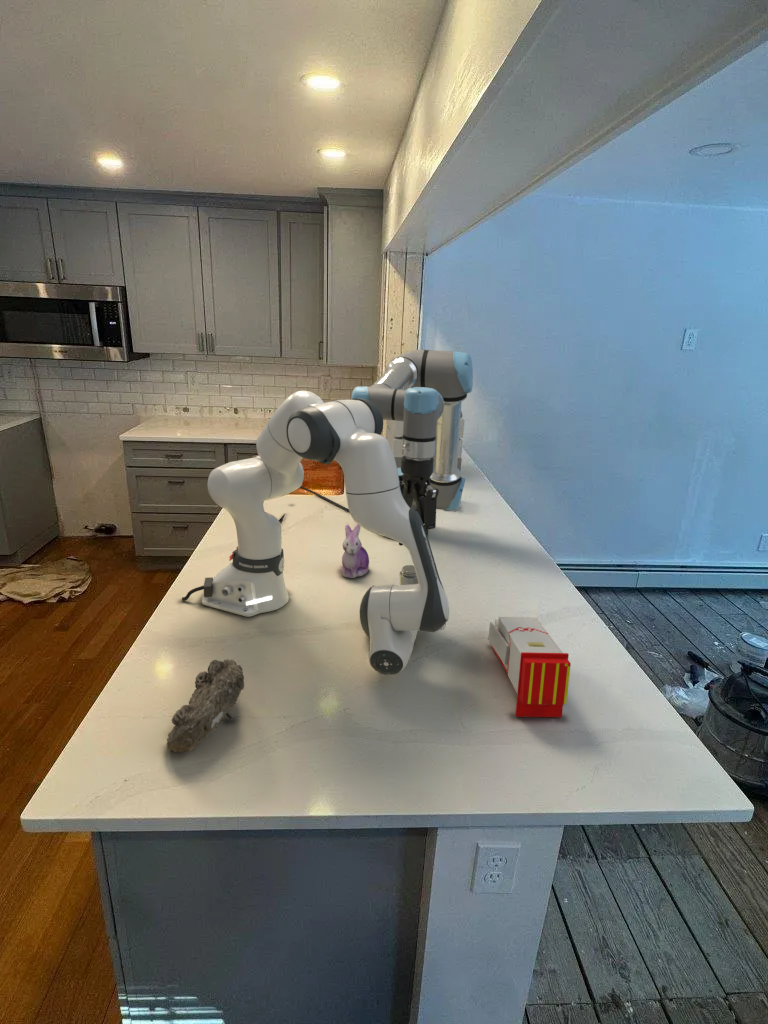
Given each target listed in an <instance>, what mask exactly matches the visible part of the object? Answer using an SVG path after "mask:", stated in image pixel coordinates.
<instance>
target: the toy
mask: <svg viewBox="0 0 768 1024" xmlns="http://www.w3.org/2000/svg"><path fill="white" fill-rule="evenodd" d="M488 625H489V627H488V633H487V641H488V642H489V644H490V646H491V647H490V648H491V649H492V650H493V652H494V654H495V656H496V658H497V659H498V660H499V662H500V664H501V666H502V668H503V669H504V671H505V673H506V674H507V676H508V678H509V680H510V682H511V685H512V686H513V689H514V690H515V693H516V704H515V717H516V718H517V717H518V718H519V717H520V718H521V717H522V718H563V710H564V705H567V701H568V692H569V685H570V684H569V683H570V676H571V675H570V674H571V666H572V664H571V661H570V660H569V655H570V654H569V653H568V652H563V651H562V649H561V648H560V647H559V646H558V644H557V643H556V642H555V640H554V639H553V638H552V636H551V635H550V634H549V632H548V631H547V629H546V628H545V627H544V626H543V624H542V622H541V621H540V620H539V619H538V618H537V616H498V618H496V619H494V623H493V622H489V624H488Z"/></svg>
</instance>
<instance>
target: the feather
mask: <svg viewBox="0 0 768 1024" xmlns="http://www.w3.org/2000/svg"><path fill="white" fill-rule="evenodd" d="M285 515H286V513H283V515H281V517H280V518H279V519H278V520H279V522H280V523H281V522H282V520H283V519H284V517H285Z"/></svg>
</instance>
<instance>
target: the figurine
mask: <svg viewBox="0 0 768 1024" xmlns="http://www.w3.org/2000/svg"><path fill="white" fill-rule="evenodd" d="M344 527H345V528H344V531H345V532H344V533H345V537H344V540H343V542H342V550H343V551H344V552H343V554H342V556H341V565H342V567H341V573H342V576H343V577H344V578H349V579H350V578H351V579H354V578H357V577H362V576H364V575H366V574H367V573H368V571H369V566H370V557H369V554H368V551H367V550H366V549H365V547H364V546H363V545H362V544H363V543H362V541H361V539H360V536H359V535H360V532H361V526H360V525H359V524H357V523H356V525H355V526H354V528H353V529H352V528H351V526H350V525H349V524H347V523H346V524H345V526H344Z"/></svg>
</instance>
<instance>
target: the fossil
mask: <svg viewBox="0 0 768 1024" xmlns="http://www.w3.org/2000/svg"><path fill="white" fill-rule="evenodd" d="M243 670H244V669H243V667H242V665H240V664H237V662H236V661H235V660H234V659H232V658H231V659H227V658H226V659H224V660H223V661H222V660H217V659H212V660H211V661H210V663H209V665H208V666H207V671H201V672H199V673H198V674H197V675H196V676H195V680H194V684H195V685H194V687H195V689H194V690H193V693H192V694H191V697H190V698H189V700H188V704H184V705H182V706H181V707H180V709H177V710H176V711H175V713H174V715H173V716H172V718H171V723H172V724H173V727H172V730H171V731H170V732H168V734H167V738H166V741H167V742H166V745H167V749H168V750H169V751H173V752H174V753H176V754H178V753H182V752H188V751H189V752H192V751H193V750H195V748H196V747H197V746H199V744H200V743H201V742H203V741H204V740H205V739H206V738H207V737H208V736H209V735H210V734H211V733H212V732H214V730H215V729H217V727H218V726H219V724H220V722H221V721H222V720H223V719H224V718H225V716H226V717H227V719H229V720H233V717H232V715H230V714H229V710H230V709H231V708H234V706H235V704H236V703H237V702H238V699H239V697H240V695H241V693H242V691H243V690H245V689H244V688H245V675H244V671H243Z"/></svg>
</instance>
